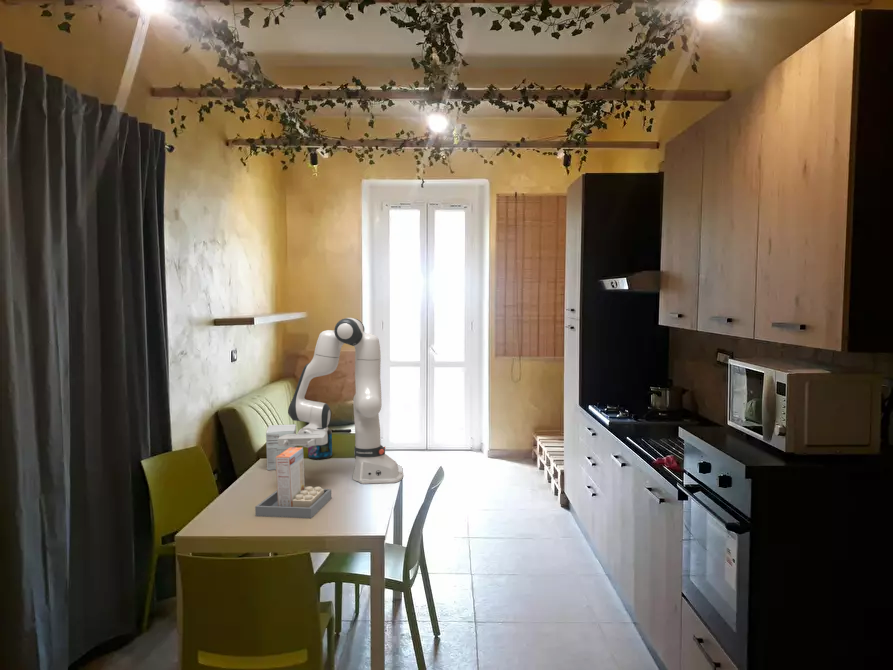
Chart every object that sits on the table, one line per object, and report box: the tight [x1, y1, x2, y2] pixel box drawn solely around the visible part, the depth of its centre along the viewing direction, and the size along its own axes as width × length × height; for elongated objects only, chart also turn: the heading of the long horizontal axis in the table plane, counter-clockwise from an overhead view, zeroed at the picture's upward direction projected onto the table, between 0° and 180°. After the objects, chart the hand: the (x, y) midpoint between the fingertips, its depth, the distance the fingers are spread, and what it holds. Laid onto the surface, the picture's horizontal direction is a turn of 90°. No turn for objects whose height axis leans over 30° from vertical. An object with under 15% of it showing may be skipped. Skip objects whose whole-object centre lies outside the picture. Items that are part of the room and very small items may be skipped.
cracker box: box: [275, 446, 306, 507], centre depth 225 cm, size 14×6×21 cm, turn 173°
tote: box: [254, 488, 332, 519], centre depth 224 cm, size 21×22×4 cm
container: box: [307, 428, 333, 460], centre depth 299 cm, size 12×12×16 cm
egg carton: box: [293, 485, 325, 508], centre depth 223 cm, size 7×14×6 cm, turn 172°
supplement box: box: [265, 423, 297, 471], centre depth 286 cm, size 17×13×18 cm
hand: (295, 444), depth 242 cm, fingers open, 8 cm apart
